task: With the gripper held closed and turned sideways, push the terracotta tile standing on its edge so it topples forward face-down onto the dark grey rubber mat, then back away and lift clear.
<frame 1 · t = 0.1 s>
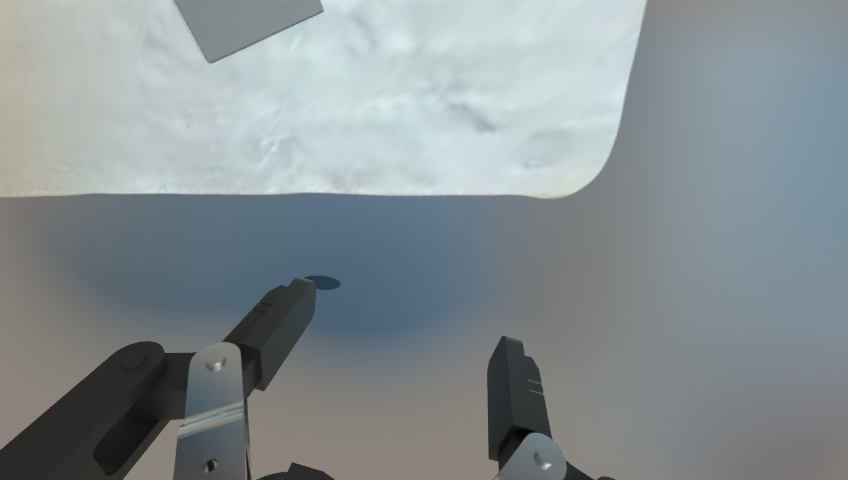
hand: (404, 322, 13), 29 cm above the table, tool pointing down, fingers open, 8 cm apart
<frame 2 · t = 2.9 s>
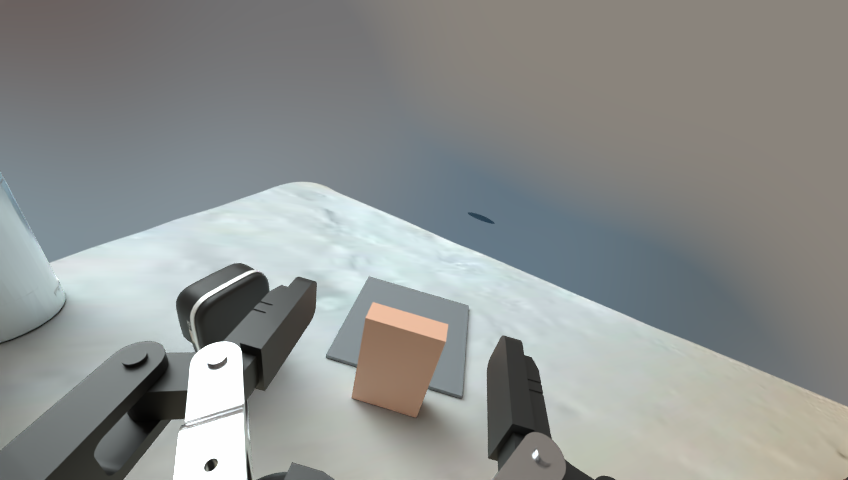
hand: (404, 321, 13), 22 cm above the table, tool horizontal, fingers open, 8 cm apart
mat: (407, 329, 41), on the table
tile: (386, 398, 33), on the table
battery charger: (234, 361, 33), on the table
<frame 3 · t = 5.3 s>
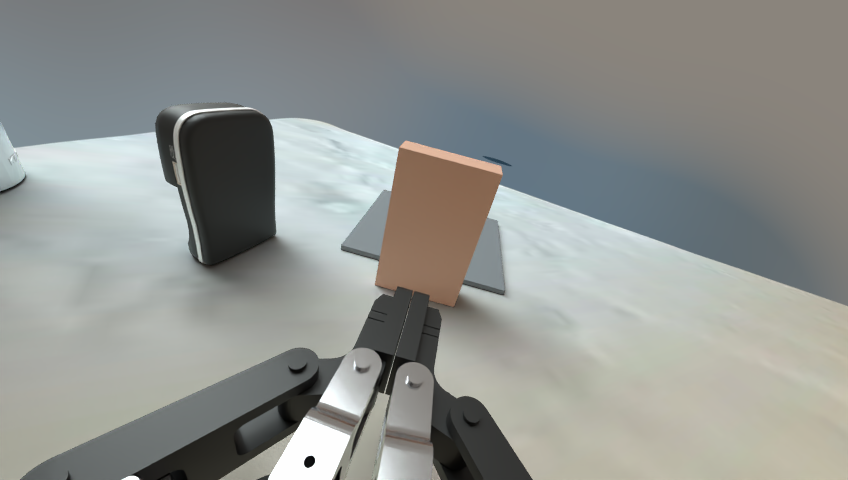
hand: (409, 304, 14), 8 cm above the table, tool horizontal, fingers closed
mat: (432, 234, 36), on the table
tile: (416, 288, 27), on the table
battery charger: (231, 244, 27), on the table
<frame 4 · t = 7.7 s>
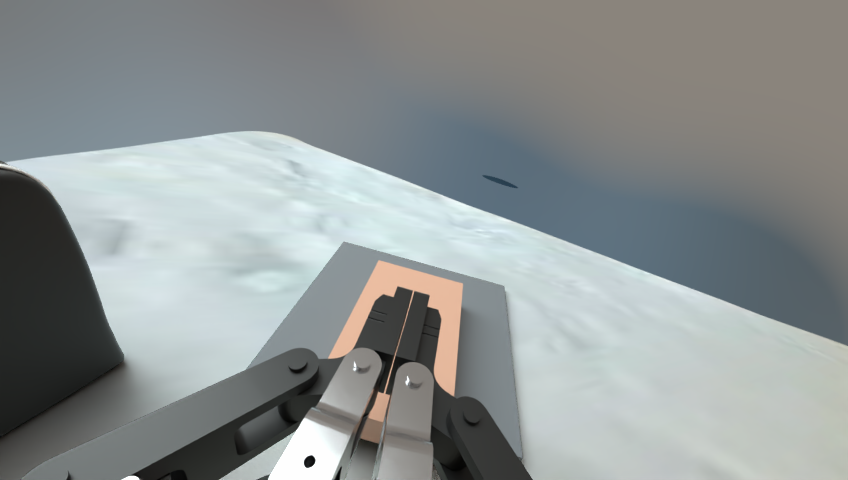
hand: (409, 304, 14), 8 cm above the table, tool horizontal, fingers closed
mat: (406, 323, 23), on the table
tile: (375, 431, 15), point 2 cm above the table, tilted 90°, touching mat
battery charger: (24, 396, 15), on the table
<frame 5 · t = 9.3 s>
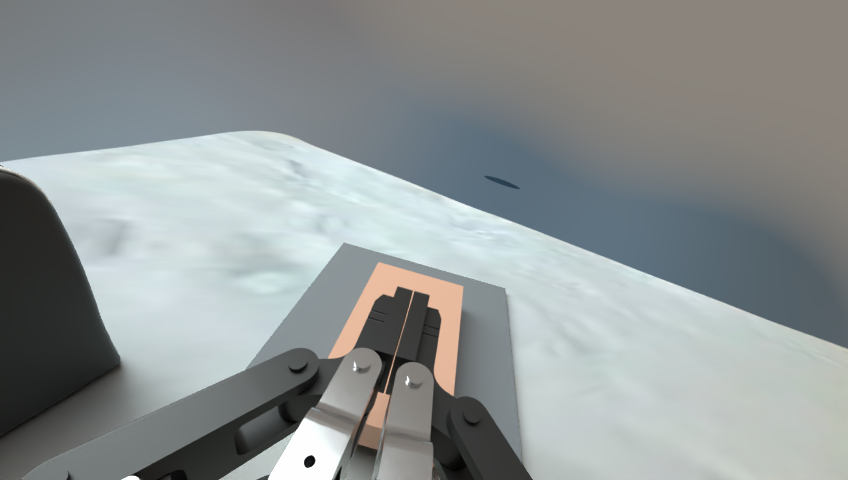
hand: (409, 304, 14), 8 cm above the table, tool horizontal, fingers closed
mat: (406, 326, 23), on the table
tile: (372, 437, 15), point 2 cm above the table, tilted 90°, touching mat
battery charger: (19, 398, 15), on the table
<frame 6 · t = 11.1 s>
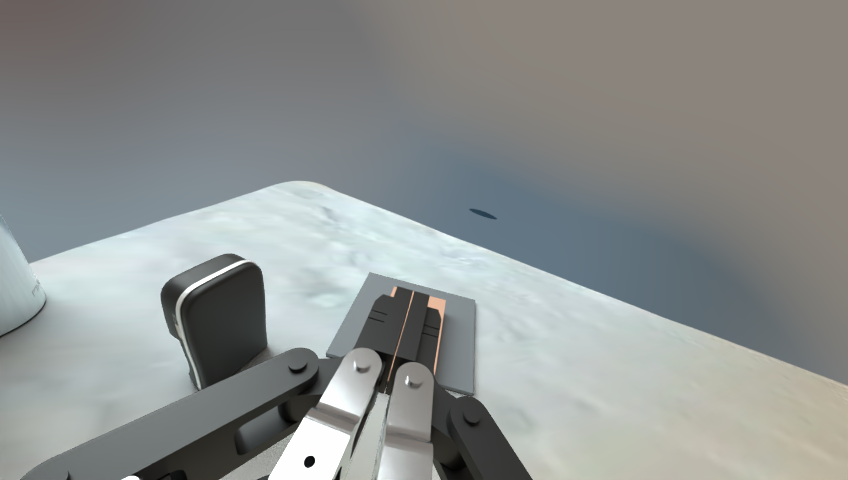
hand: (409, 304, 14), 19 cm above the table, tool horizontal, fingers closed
mat: (411, 325, 39), on the table
tile: (397, 377, 30), point 2 cm above the table, tilted 90°, touching mat
battery charger: (227, 361, 30), on the table
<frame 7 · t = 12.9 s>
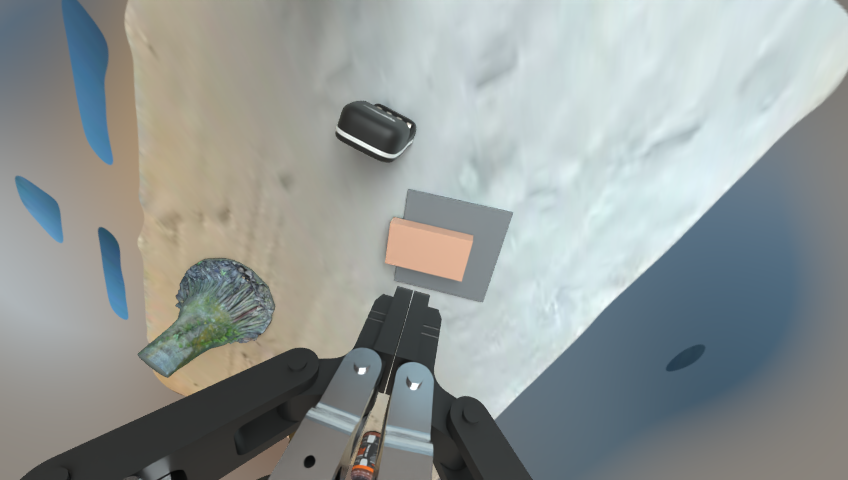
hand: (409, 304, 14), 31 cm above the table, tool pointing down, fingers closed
mat: (448, 248, 47), on the table
tree stump: (231, 299, 61), on the table
supplement bottle: (376, 437, 74), on the table
tile: (389, 240, 47), point 2 cm above the table, tilted 90°, touching mat
battery charger: (394, 121, 41), on the table
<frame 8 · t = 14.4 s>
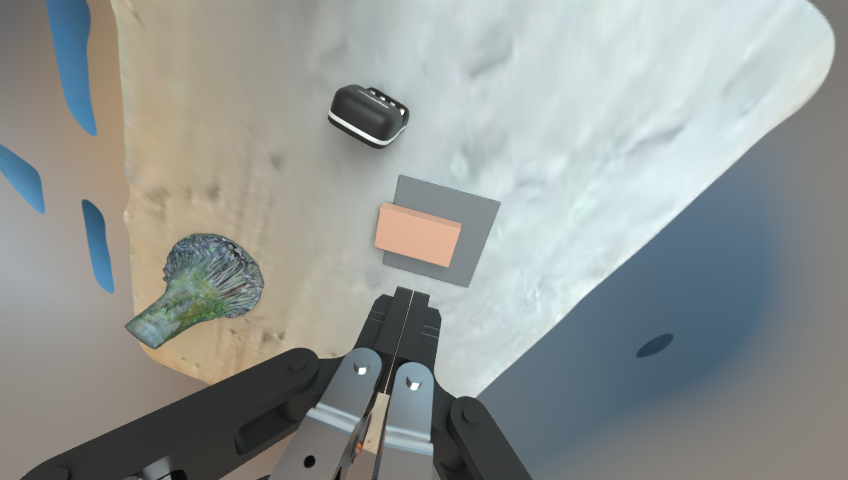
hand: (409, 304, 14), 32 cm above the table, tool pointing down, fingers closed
mat: (436, 234, 49), on the table
tree stump: (220, 275, 61), on the table
supplement bottle: (360, 412, 77), on the table
tile: (379, 224, 47), point 2 cm above the table, tilted 90°, touching mat
battery charger: (387, 105, 40), on the table
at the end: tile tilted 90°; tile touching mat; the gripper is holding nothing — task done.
